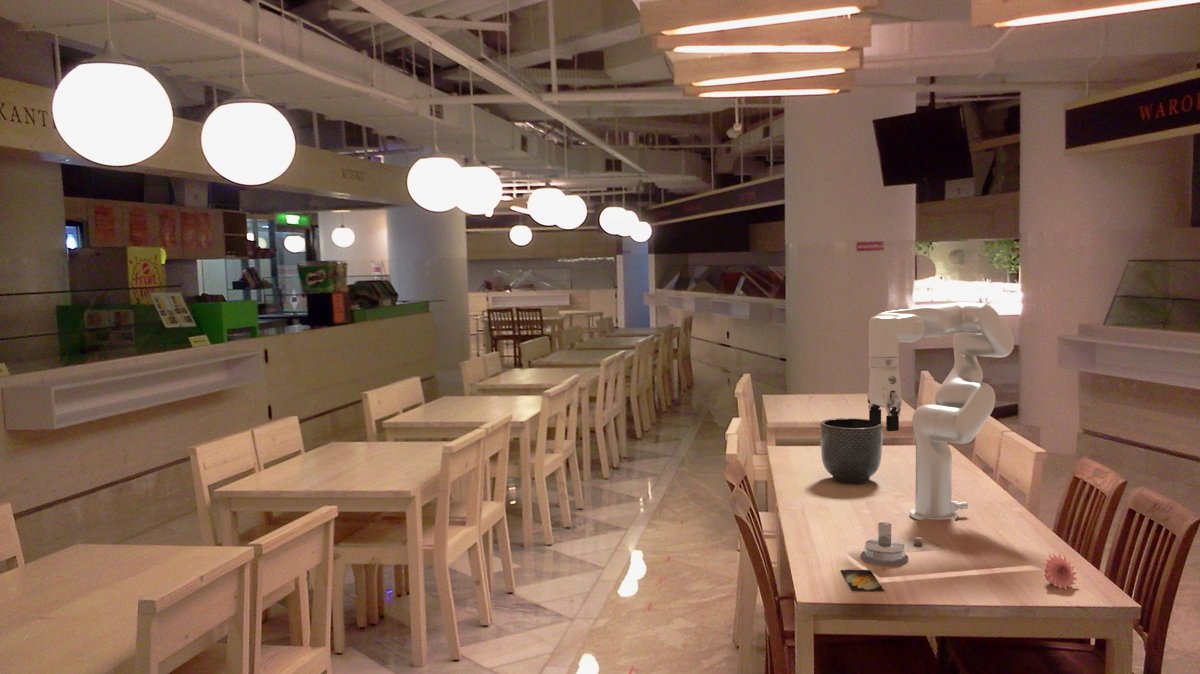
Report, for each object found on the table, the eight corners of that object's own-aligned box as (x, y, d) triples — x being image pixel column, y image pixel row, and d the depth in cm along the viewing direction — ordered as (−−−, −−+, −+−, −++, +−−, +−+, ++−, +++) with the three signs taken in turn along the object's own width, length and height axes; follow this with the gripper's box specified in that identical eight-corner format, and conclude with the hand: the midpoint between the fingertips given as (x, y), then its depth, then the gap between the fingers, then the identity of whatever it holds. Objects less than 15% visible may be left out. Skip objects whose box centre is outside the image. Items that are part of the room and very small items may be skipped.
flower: (1036, 552, 213) (1050, 545, 208) (1069, 566, 212) (1084, 559, 207) (1032, 584, 209) (1046, 578, 204) (1065, 599, 208) (1081, 592, 203)
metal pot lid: (894, 553, 232) (894, 541, 232) (916, 567, 221) (917, 555, 221) (852, 556, 230) (853, 544, 230) (873, 571, 220) (873, 558, 219)
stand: (926, 541, 242) (926, 531, 241) (946, 552, 232) (947, 542, 232) (890, 543, 240) (890, 533, 240) (909, 555, 230) (909, 545, 230)
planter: (859, 471, 319) (859, 416, 318) (895, 484, 301) (895, 425, 299) (808, 476, 313) (808, 420, 312) (841, 490, 295) (841, 430, 293)
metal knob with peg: (872, 547, 232) (872, 517, 231) (909, 553, 227) (909, 522, 226) (859, 557, 225) (859, 525, 224) (897, 564, 220) (897, 531, 219)
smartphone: (870, 569, 220) (885, 591, 206) (870, 572, 220) (885, 594, 206) (839, 569, 221) (852, 591, 206) (839, 572, 221) (852, 594, 206)
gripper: (913, 366, 238) (913, 432, 240) (881, 359, 255) (881, 421, 257) (885, 367, 237) (885, 434, 239) (855, 360, 254) (856, 422, 256)
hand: (883, 427), depth 248 cm, fingers open, 9 cm apart
